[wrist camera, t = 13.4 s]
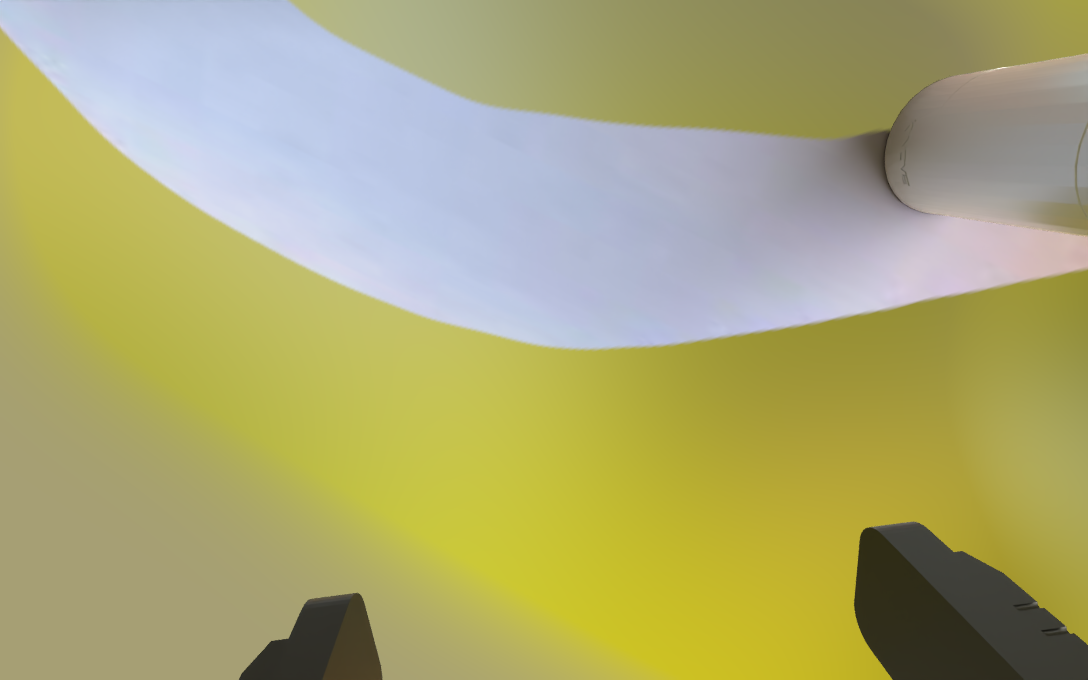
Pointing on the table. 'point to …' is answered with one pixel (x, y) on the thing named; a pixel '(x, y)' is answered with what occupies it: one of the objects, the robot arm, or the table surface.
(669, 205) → the table surface
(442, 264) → the table surface
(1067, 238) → the table surface
